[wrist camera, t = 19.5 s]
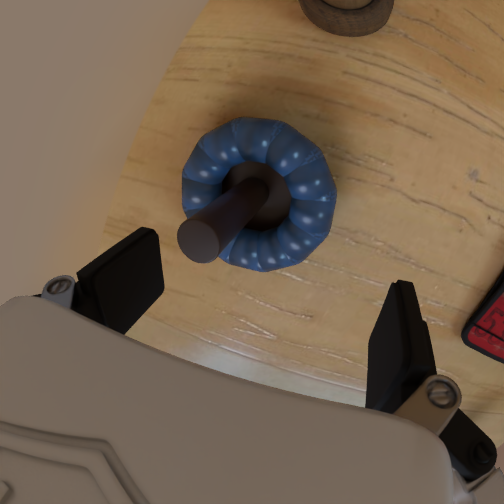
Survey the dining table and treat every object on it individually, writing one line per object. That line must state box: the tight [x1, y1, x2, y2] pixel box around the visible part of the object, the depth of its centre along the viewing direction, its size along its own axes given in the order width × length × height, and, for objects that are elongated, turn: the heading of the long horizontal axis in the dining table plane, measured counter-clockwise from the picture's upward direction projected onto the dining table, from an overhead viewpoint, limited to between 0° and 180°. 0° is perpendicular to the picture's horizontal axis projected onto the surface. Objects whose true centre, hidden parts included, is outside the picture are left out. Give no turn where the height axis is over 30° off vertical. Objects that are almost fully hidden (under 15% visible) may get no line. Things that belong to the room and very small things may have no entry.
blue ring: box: [182, 117, 337, 272], centre depth 20 cm, size 11×11×3 cm
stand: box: [177, 161, 291, 263], centre depth 18 cm, size 8×8×10 cm
